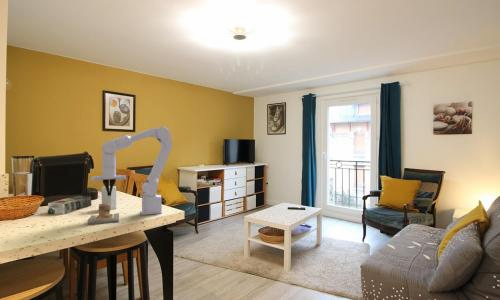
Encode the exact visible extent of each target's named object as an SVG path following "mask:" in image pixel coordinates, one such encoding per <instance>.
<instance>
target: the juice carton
mask: <svg viewBox="0 0 500 300" xmlns="http://www.w3.org/2000/svg"><path fill="white" fill-rule="evenodd" d="M47 206H48V207H47V214H54V215H67V214H70V213H73V212H76V211H79V210H82V209H85V208H89V207H91V206H92V195H78V194H77V195H75V196H71V197H70V196H69V197H66V198H63V199H60V200H55V201H51V202H48V203H47Z"/></svg>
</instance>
